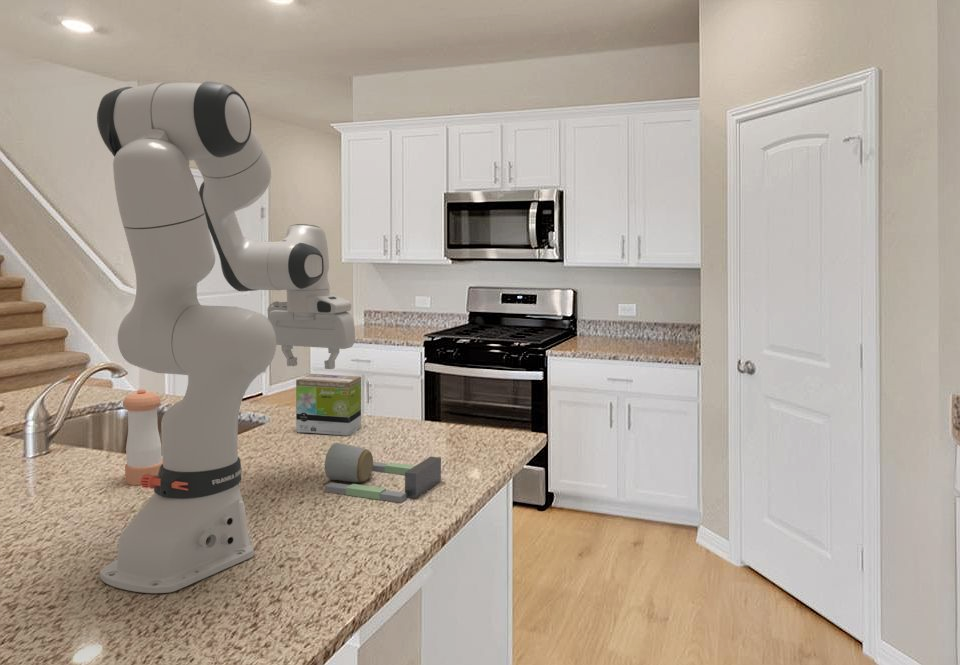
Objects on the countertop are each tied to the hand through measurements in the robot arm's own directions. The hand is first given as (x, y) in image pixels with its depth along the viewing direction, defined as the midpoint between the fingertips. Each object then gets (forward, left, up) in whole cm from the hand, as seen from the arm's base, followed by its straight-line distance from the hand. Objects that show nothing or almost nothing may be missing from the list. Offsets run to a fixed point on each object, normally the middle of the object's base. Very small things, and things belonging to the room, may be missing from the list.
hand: (310, 367), depth 149 cm
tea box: (+34, +17, -24) cm, 45 cm away
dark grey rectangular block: (0, -27, -23) cm, 35 cm away
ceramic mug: (0, -9, -24) cm, 25 cm away
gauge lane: (0, -18, -23) cm, 29 cm away
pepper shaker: (-17, +29, -24) cm, 41 cm away
